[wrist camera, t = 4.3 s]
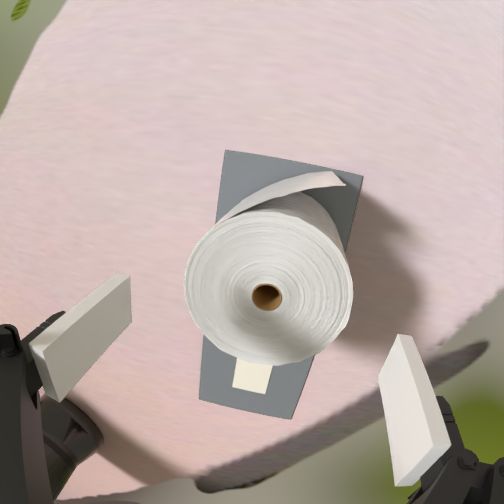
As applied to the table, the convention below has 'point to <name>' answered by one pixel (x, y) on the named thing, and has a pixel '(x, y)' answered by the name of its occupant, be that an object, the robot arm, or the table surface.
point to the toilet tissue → (272, 275)
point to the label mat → (230, 367)
